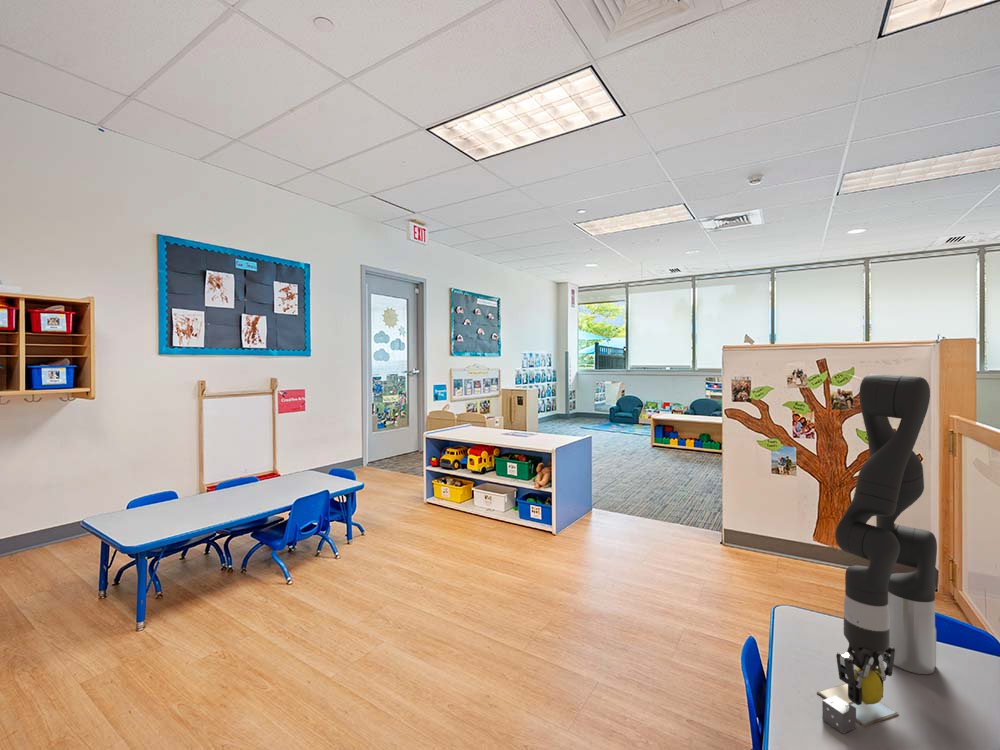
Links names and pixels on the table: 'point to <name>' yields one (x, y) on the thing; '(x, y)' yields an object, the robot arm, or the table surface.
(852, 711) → the die
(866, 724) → the board
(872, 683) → the lemon
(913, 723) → the table surface
